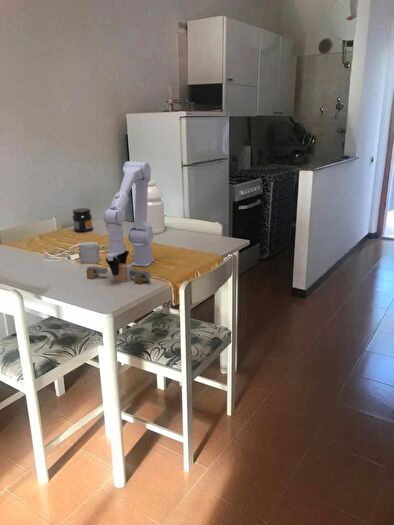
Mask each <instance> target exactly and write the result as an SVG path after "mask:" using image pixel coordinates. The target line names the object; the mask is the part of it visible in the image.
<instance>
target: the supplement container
mask: <svg viewBox="0 0 394 525" xmlns="http://www.w3.org/2000/svg"><path fill="white" fill-rule="evenodd" d="M92 217H93V215H92V214H91V209H90V208H87V207H81V208H75V209H73V210H72V221H73V222H72V223H73V231H75V232H76V233H81V234H83V233H89V232H91V231H93V230H94V226H93V225H94V224H93V219H92Z"/></svg>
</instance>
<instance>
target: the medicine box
mask: <svg viewBox="0 0 394 525" xmlns="http://www.w3.org/2000/svg"><path fill="white" fill-rule="evenodd" d="M78 250H79V258H80V259H79V260H80V264H98V263H100V261H101V257H100V248H99V242H98V241H96V242H95V241H90V242H89V241H88V242H86V241H85V242H81V243H80V244H79V245H78Z"/></svg>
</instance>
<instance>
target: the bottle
mask: <svg viewBox="0 0 394 525" xmlns="http://www.w3.org/2000/svg"><path fill="white" fill-rule="evenodd" d="M156 184H157V183H156V180H151V179H150V182H148V195H147V223H148V224H149V225H151V226H152V232H153V235H158V234H162V233H164V232H165V229H166V227H165V212H164V207H165V205H164V201H163V200H162V198H163V194H162V191H161V190H160V188H159V187H158V186H157V185H156ZM138 229H143V228H138Z"/></svg>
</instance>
